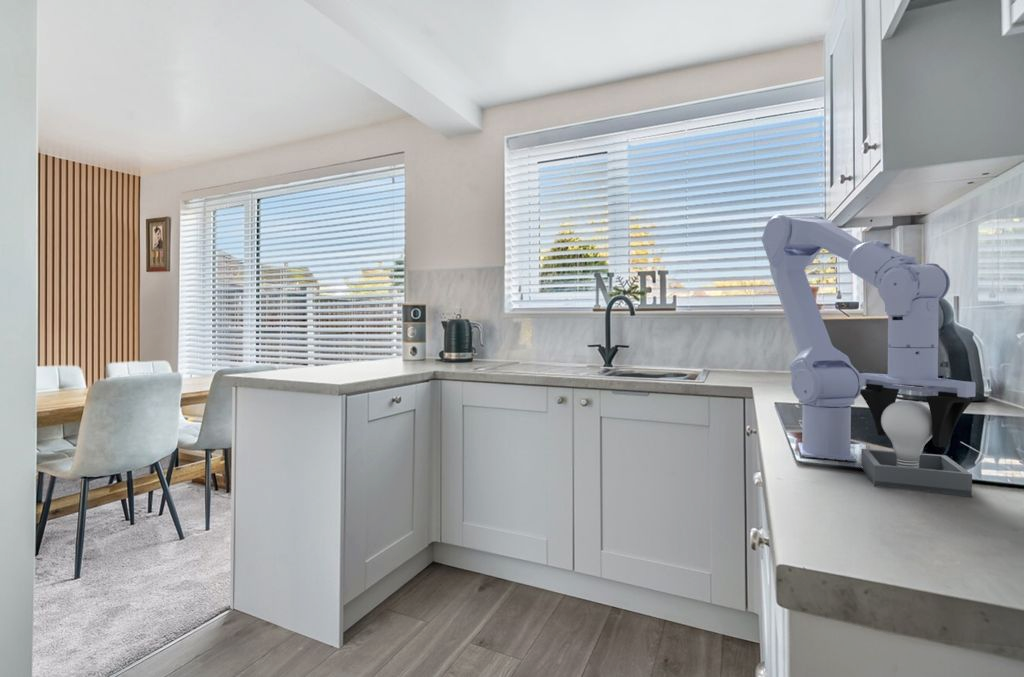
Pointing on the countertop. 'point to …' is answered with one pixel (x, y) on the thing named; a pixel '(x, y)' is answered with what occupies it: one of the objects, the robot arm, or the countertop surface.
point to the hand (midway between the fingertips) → (911, 440)
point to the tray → (917, 473)
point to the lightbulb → (907, 430)
